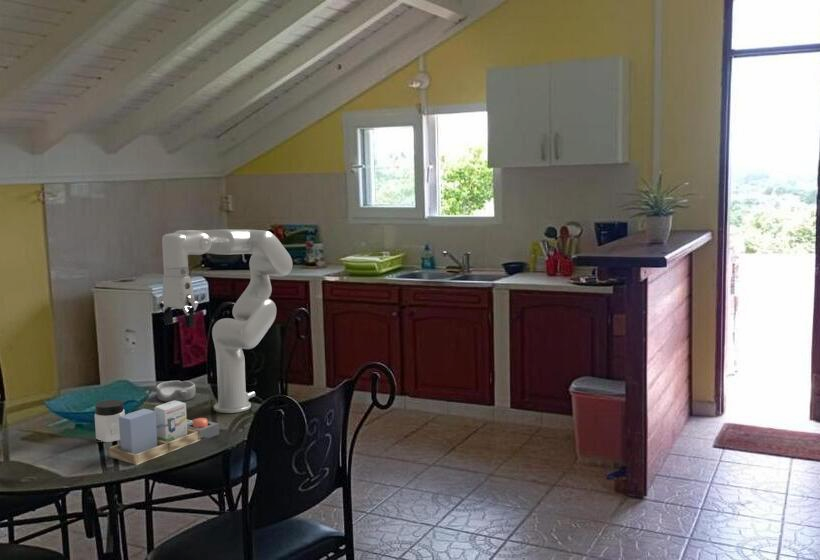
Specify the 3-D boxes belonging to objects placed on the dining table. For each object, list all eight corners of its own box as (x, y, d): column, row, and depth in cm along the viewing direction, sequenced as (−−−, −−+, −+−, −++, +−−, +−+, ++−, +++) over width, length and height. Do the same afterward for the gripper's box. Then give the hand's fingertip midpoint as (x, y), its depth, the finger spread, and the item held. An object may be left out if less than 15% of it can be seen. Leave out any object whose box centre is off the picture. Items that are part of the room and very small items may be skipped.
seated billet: (146, 447, 248) (144, 408, 247) (157, 450, 246) (155, 411, 244) (121, 456, 241) (118, 416, 239) (132, 459, 238) (130, 419, 236)
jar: (99, 447, 252) (97, 409, 250) (93, 440, 259) (90, 402, 257) (129, 441, 257) (127, 404, 255) (122, 434, 263) (120, 398, 262)
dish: (190, 403, 296) (189, 389, 296) (151, 403, 297) (150, 390, 296) (200, 391, 311) (200, 378, 310) (163, 392, 311) (163, 379, 310)
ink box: (176, 436, 258) (174, 399, 256) (188, 439, 255) (186, 402, 253) (154, 444, 251) (152, 406, 249) (166, 447, 248) (164, 409, 246)
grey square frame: (201, 429, 267) (200, 419, 267) (219, 434, 263) (218, 423, 263) (182, 437, 261) (181, 426, 260) (200, 441, 256) (199, 430, 256)
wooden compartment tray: (172, 436, 262) (171, 424, 261) (201, 443, 255) (200, 431, 254) (107, 459, 242) (106, 447, 241) (137, 468, 235) (136, 456, 234)
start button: (200, 429, 265) (200, 417, 264) (210, 431, 262) (210, 419, 262) (190, 433, 261) (189, 420, 260) (200, 435, 259) (199, 423, 258)
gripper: (204, 273, 262) (206, 326, 265) (166, 269, 272) (169, 320, 274) (186, 276, 256) (188, 330, 259) (148, 272, 266) (151, 324, 268)
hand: (178, 325), depth 267 cm, fingers open, 9 cm apart
